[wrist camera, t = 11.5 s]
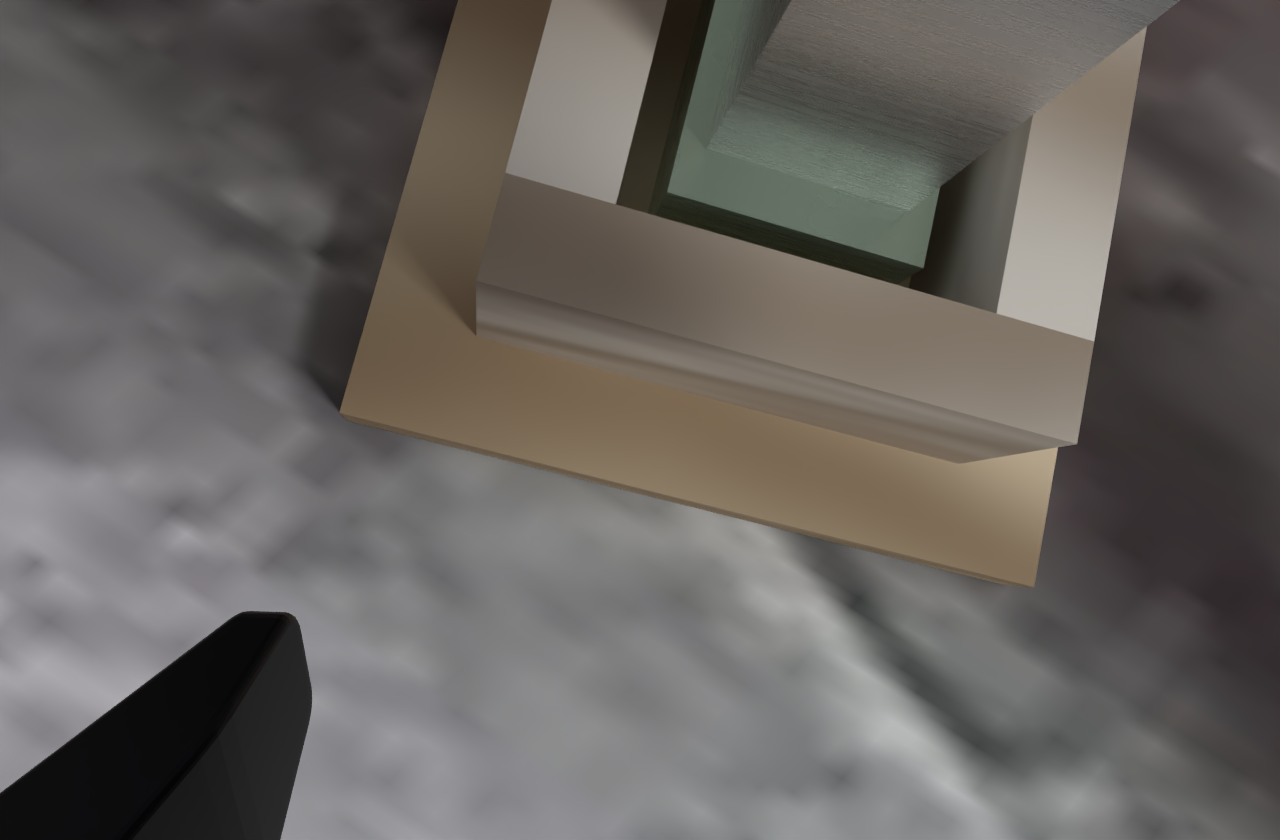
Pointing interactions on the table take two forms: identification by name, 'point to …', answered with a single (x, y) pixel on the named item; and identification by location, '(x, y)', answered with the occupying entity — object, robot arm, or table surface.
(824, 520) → the block holder
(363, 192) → the table surface
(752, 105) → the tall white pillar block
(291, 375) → the table surface
